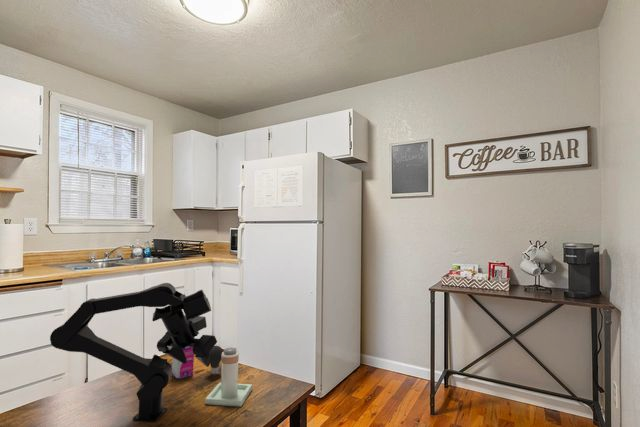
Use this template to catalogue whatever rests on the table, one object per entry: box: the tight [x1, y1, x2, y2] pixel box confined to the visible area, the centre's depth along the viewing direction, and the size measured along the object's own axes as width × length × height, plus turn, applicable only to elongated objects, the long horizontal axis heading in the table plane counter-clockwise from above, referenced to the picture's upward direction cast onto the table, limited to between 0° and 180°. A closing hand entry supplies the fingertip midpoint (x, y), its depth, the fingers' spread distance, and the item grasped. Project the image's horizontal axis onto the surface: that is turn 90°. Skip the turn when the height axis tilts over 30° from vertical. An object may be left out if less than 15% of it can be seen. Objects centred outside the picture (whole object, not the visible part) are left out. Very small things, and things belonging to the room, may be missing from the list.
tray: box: [204, 381, 253, 408], centre depth 108 cm, size 11×11×2 cm
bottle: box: [220, 346, 240, 399], centre depth 108 cm, size 5×5×14 cm
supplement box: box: [171, 346, 195, 380], centre depth 123 cm, size 6×6×12 cm
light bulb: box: [209, 345, 224, 376], centre depth 124 cm, size 6×6×10 cm
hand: (196, 364), depth 105 cm, fingers open, 9 cm apart
